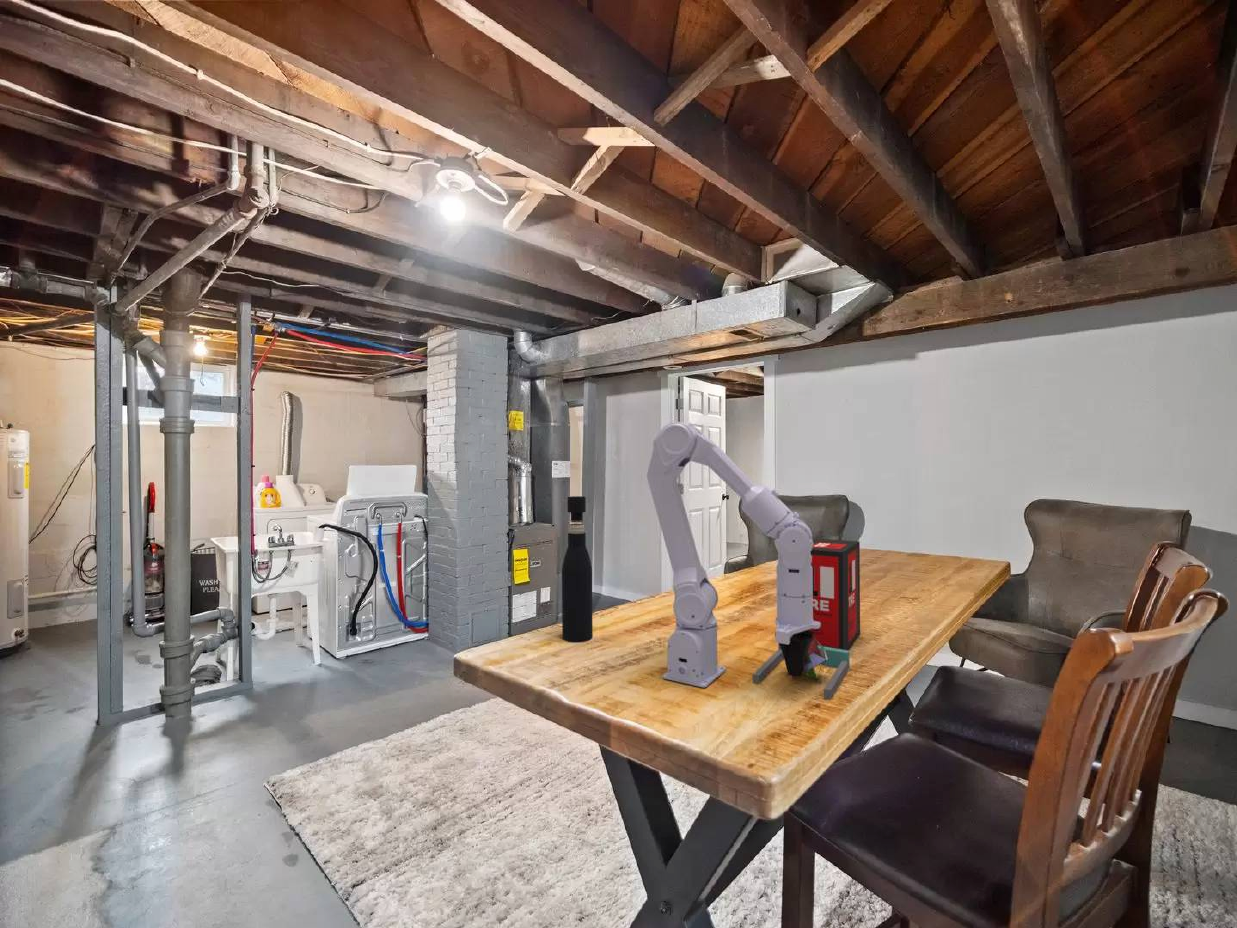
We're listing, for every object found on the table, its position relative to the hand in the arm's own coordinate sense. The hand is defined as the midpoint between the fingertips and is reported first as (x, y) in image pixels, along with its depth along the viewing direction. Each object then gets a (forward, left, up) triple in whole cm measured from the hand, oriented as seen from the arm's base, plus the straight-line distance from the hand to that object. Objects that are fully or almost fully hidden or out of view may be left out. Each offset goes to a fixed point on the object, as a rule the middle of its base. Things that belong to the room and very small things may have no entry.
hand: (795, 675), depth 91 cm
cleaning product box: (+26, 0, -2) cm, 26 cm away
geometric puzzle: (+4, 0, -2) cm, 4 cm away
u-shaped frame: (+5, 0, -2) cm, 5 cm away
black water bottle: (+1, +46, -2) cm, 46 cm away
